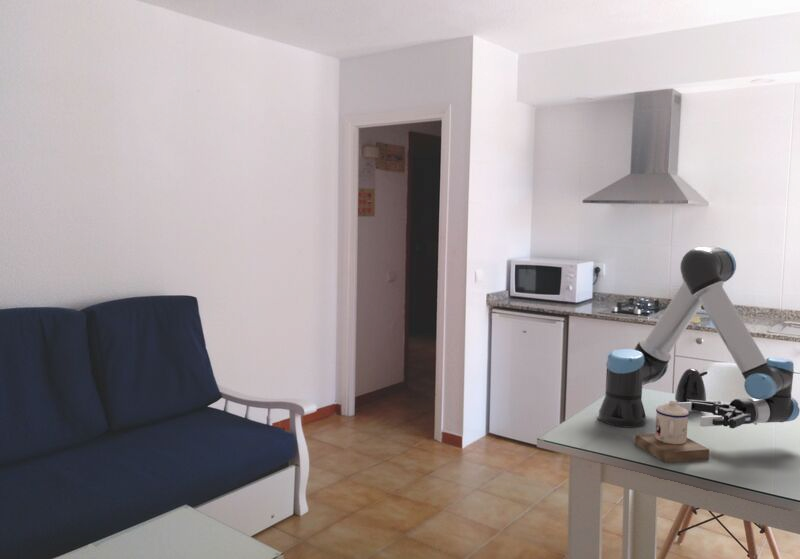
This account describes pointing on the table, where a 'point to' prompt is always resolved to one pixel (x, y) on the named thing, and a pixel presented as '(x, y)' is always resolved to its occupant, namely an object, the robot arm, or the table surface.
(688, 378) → the pump dispenser
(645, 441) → the walnut stand
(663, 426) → the teacup with lid
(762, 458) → the table surface
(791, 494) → the table surface
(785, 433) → the table surface
